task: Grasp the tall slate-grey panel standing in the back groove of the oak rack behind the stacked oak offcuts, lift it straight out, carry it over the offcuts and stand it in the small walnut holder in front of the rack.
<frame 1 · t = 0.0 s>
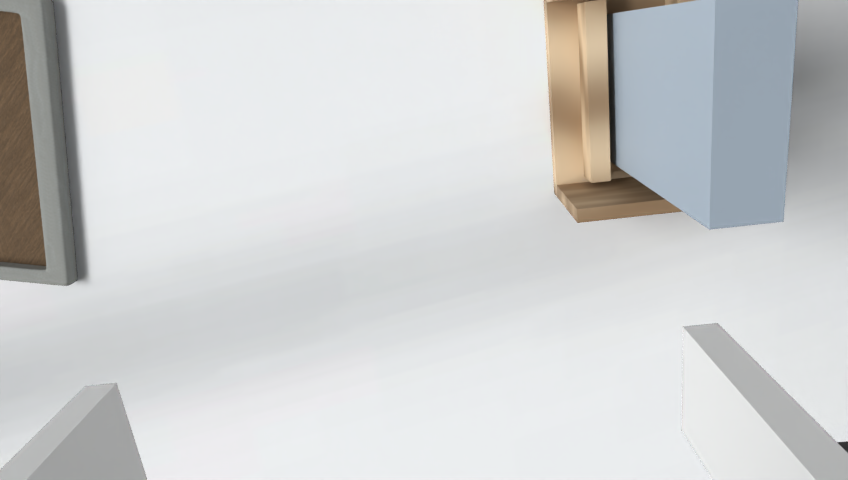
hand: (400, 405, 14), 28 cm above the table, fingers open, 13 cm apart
grey panel: (632, 87, 38), point 1 cm above the table, touching oak rack
oak rack: (626, 3, 37), on the table
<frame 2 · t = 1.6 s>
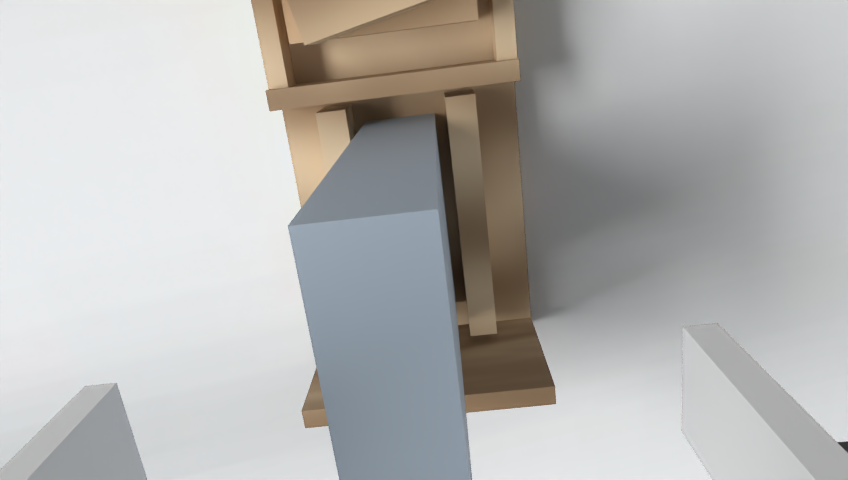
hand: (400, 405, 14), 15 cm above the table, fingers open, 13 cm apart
grey panel: (413, 216, 28), point 1 cm above the table, touching oak rack
oak rack: (399, 103, 27), on the table
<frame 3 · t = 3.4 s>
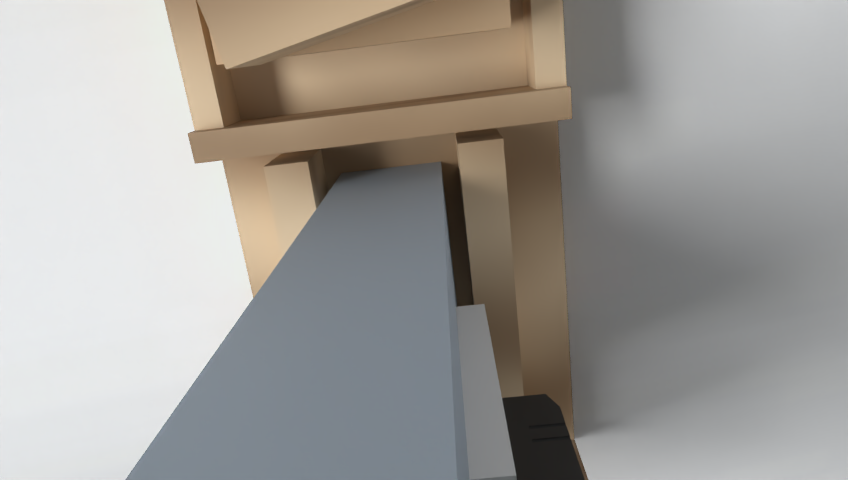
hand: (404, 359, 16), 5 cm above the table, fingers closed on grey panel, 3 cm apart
grey panel: (410, 304, 19), point 1 cm above the table, touching gripper
oak rack: (391, 145, 19), on the table
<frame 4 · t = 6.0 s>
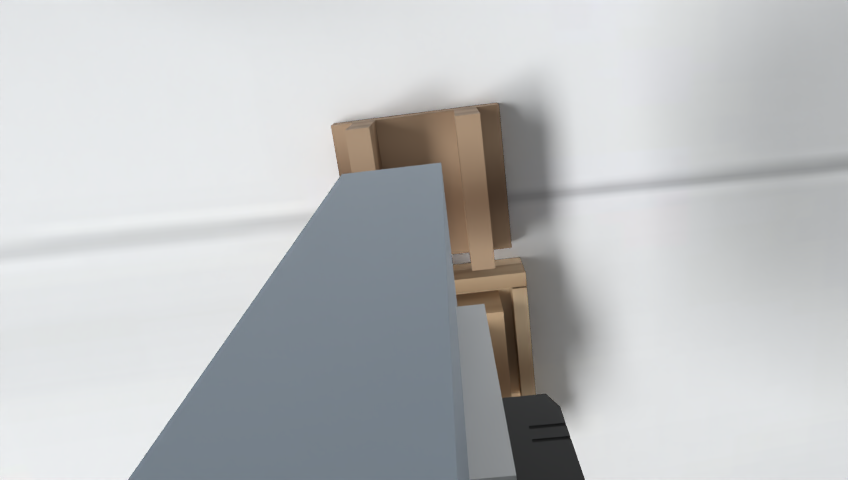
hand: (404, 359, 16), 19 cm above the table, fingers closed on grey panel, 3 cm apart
oak offcut low: (445, 350, 36), point 1 cm above the table, touching oak offcut top, oak rack
grey panel: (410, 305, 19), point 16 cm above the table, touching gripper
walnut holder: (424, 184, 34), on the table
oak rack: (456, 432, 39), on the table
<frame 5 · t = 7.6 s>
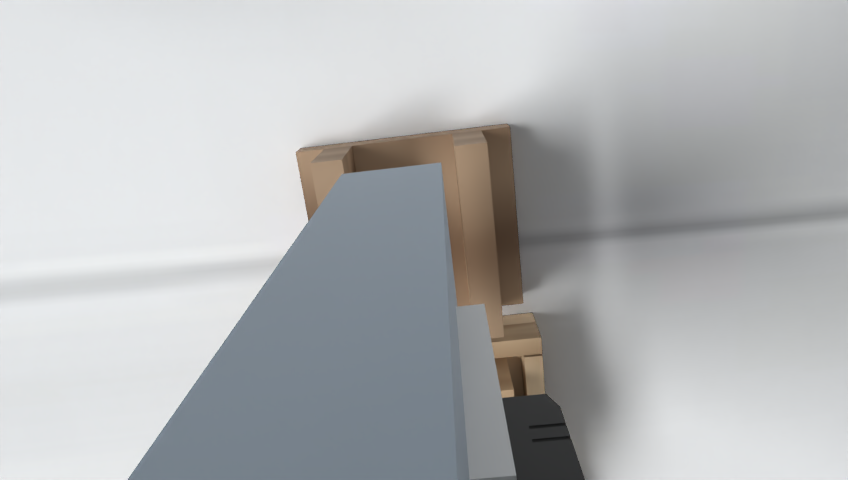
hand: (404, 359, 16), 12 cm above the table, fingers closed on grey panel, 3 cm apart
oak offcut low: (439, 424, 30), point 1 cm above the table, touching oak offcut top, oak rack
grey panel: (410, 305, 19), point 8 cm above the table, touching gripper
walnut holder: (414, 224, 27), on the table
when the fingers open (6 cm above the table, at t = 8.9 s): grey panel drops 1 cm, resting on walnut holder.
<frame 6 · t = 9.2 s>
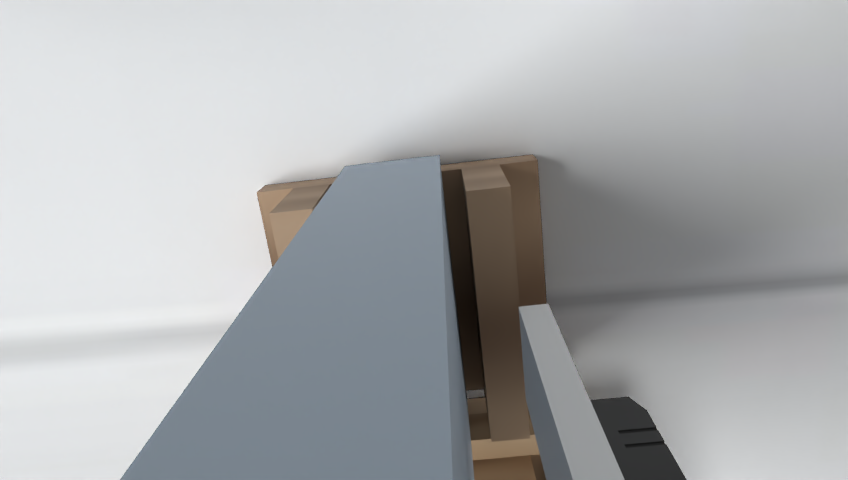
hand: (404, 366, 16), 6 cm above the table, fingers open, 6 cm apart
grey panel: (410, 291, 20), point 1 cm above the table, touching walnut holder
walnut holder: (412, 280, 21), on the table
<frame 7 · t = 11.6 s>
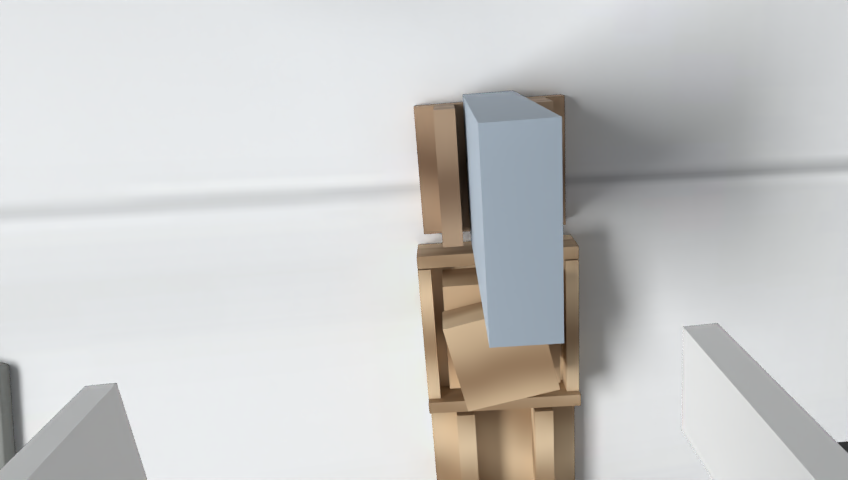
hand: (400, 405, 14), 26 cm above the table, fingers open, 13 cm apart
oak offcut low: (498, 315, 40), point 1 cm above the table, touching oak offcut top, oak rack
grey panel: (491, 167, 37), point 1 cm above the table, touching walnut holder
walnut holder: (490, 164, 38), on the table
oak offcut top: (498, 340, 38), point 4 cm above the table, touching oak offcut low
oak rack: (500, 393, 43), on the table
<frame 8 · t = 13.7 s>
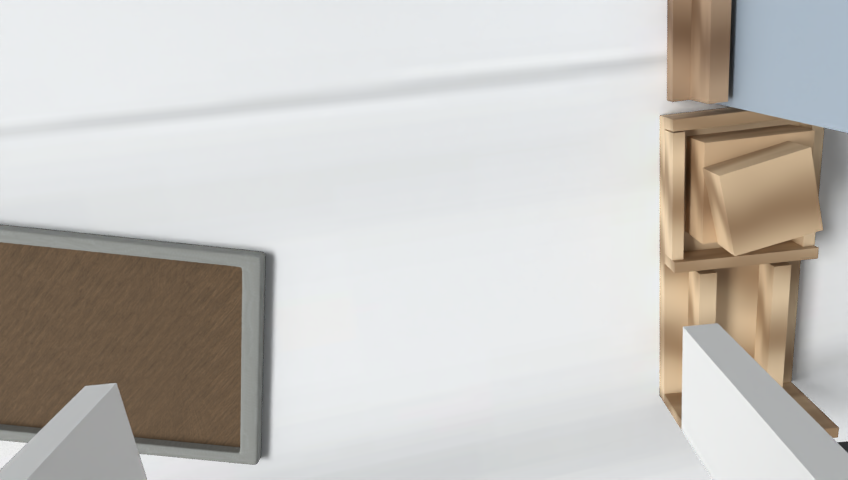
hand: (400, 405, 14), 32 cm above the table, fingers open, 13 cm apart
shallow tray: (85, 338, 50), on the table
oak offcut low: (735, 179, 43), point 1 cm above the table, touching oak offcut top, oak rack
grey panel: (741, 32, 40), point 1 cm above the table, touching walnut holder
walnut holder: (734, 32, 41), on the table
oak offcut top: (752, 193, 41), point 4 cm above the table, touching oak offcut low
oak rack: (726, 259, 46), on the table
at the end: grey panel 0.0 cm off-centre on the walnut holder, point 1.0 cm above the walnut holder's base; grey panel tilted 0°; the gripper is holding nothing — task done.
